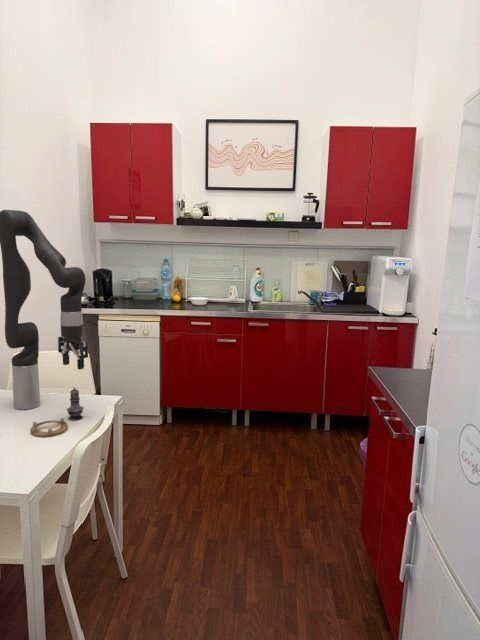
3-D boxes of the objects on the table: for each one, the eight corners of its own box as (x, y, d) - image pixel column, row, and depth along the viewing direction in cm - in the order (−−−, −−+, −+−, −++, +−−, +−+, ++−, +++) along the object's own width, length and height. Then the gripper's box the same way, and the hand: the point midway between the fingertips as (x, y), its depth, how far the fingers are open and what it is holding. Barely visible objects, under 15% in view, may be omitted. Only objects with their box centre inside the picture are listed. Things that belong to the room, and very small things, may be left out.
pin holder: (23, 431, 156) (23, 424, 156) (54, 420, 166) (54, 413, 165) (43, 440, 149) (43, 433, 149) (75, 428, 159) (74, 422, 159)
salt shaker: (78, 421, 165) (77, 390, 163) (63, 420, 166) (62, 389, 164) (86, 415, 171) (85, 385, 169) (72, 414, 172) (71, 384, 170)
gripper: (50, 322, 163) (52, 365, 166) (75, 327, 155) (76, 372, 158) (68, 319, 169) (70, 361, 172) (93, 324, 161) (94, 368, 164)
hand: (73, 366), depth 165 cm, fingers open, 8 cm apart
